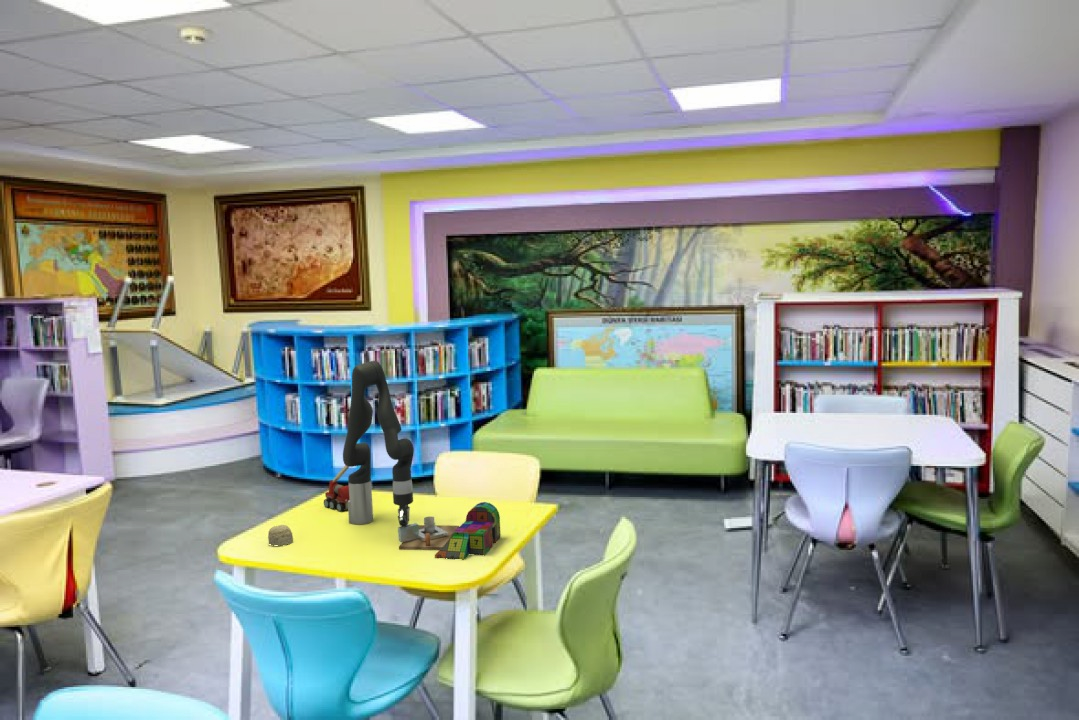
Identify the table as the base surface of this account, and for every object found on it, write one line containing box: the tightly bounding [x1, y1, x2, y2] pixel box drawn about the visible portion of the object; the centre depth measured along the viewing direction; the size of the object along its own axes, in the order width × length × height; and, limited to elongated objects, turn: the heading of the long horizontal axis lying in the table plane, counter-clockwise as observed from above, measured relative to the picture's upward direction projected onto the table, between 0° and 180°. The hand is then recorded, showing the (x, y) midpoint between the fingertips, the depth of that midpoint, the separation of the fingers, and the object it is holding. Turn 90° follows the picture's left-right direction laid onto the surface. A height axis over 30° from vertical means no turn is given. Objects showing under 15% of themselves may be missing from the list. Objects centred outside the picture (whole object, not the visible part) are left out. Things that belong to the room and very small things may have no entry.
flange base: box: [398, 516, 460, 551], centre depth 303 cm, size 17×25×8 cm
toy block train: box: [434, 501, 502, 561], centre depth 291 cm, size 25×17×14 cm
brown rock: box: [267, 524, 294, 547], centre depth 304 cm, size 9×10×10 cm
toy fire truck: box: [323, 464, 350, 513], centre depth 349 cm, size 11×16×18 cm
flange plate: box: [397, 522, 448, 544], centre depth 301 cm, size 18×10×6 cm, turn 124°
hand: (405, 534), depth 302 cm, fingers closed
